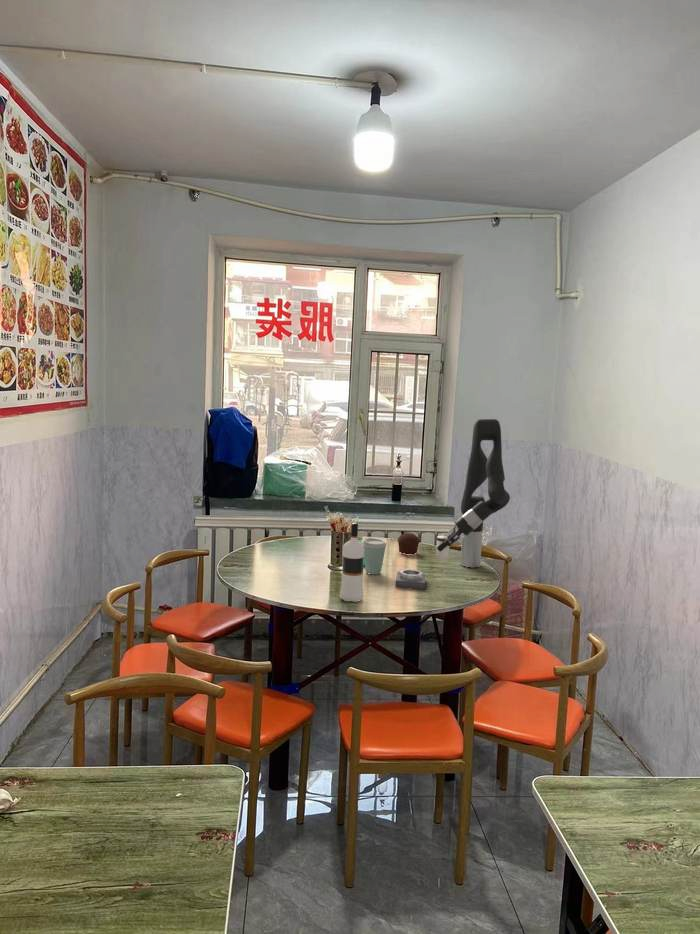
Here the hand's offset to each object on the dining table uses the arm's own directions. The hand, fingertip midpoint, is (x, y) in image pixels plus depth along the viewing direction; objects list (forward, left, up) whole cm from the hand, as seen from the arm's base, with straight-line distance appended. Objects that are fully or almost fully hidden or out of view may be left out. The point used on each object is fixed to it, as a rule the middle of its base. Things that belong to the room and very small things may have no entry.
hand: (438, 547), depth 286 cm
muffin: (-53, -14, -16) cm, 57 cm away
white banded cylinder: (0, +2, -4) cm, 5 cm away
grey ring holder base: (+1, -11, -16) cm, 19 cm away
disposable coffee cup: (-11, -28, -16) cm, 34 cm away
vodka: (+28, -33, -16) cm, 46 cm away
